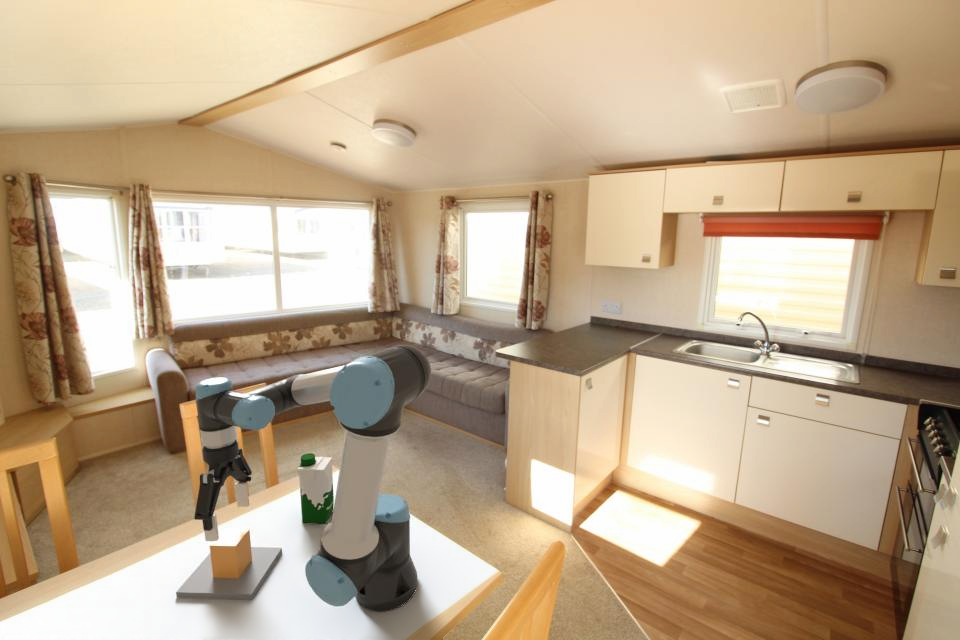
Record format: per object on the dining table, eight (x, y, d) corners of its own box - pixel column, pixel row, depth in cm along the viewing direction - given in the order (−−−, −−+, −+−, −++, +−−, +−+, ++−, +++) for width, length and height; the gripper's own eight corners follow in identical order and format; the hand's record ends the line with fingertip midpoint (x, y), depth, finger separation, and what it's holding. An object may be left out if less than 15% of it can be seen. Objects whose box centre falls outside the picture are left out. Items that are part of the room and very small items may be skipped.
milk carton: (309, 507, 142) (305, 449, 138) (337, 508, 142) (334, 450, 138) (297, 525, 133) (293, 463, 129) (328, 526, 133) (324, 464, 129)
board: (282, 552, 122) (280, 526, 120) (251, 599, 106) (249, 570, 105) (216, 551, 122) (213, 524, 120) (176, 597, 106) (172, 568, 105)
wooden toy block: (252, 559, 117) (249, 529, 115) (238, 578, 111) (235, 546, 109) (227, 559, 117) (224, 528, 115) (213, 577, 111) (209, 545, 109)
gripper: (233, 421, 120) (240, 493, 123) (168, 468, 95) (180, 556, 99) (261, 421, 120) (267, 493, 123) (202, 468, 95) (213, 557, 99)
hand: (228, 522), depth 111 cm, fingers open, 13 cm apart
